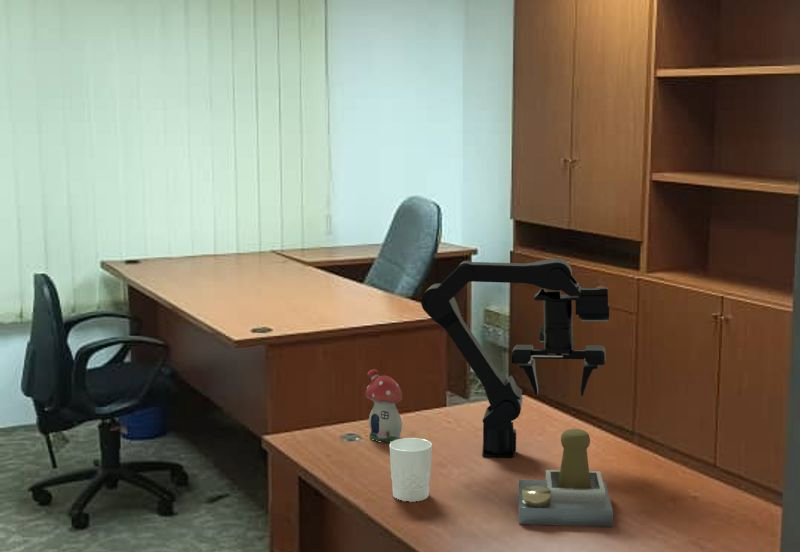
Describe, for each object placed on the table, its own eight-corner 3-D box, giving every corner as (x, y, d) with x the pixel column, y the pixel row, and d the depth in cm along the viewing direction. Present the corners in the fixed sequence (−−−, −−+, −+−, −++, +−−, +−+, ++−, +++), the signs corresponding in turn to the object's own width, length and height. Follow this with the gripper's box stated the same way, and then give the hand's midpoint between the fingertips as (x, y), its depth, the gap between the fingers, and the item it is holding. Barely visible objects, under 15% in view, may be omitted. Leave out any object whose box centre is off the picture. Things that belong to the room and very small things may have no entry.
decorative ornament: (361, 434, 235) (360, 369, 232) (386, 429, 238) (385, 364, 236) (382, 445, 227) (382, 378, 224) (408, 440, 230) (408, 373, 228)
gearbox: (519, 524, 184) (519, 496, 183) (518, 494, 198) (518, 469, 197) (612, 527, 183) (613, 499, 182) (605, 497, 196) (605, 471, 196)
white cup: (437, 490, 200) (437, 440, 199) (424, 505, 193) (424, 453, 191) (398, 486, 203) (397, 436, 201) (384, 500, 196) (383, 448, 194)
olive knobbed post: (554, 483, 194) (555, 426, 193) (586, 482, 195) (587, 425, 193) (561, 495, 188) (563, 436, 187) (595, 494, 189) (596, 435, 187)
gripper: (605, 313, 221) (606, 385, 224) (516, 312, 225) (517, 383, 228) (604, 324, 210) (605, 400, 213) (510, 324, 214) (512, 398, 217)
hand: (559, 395), depth 218 cm, fingers open, 9 cm apart
